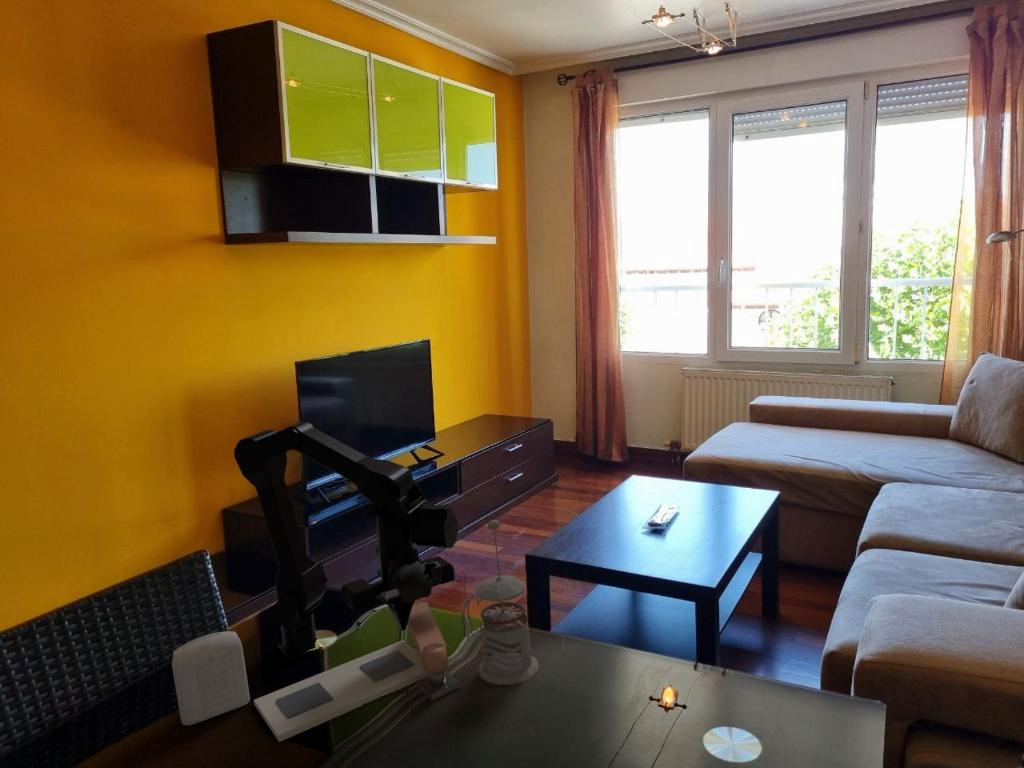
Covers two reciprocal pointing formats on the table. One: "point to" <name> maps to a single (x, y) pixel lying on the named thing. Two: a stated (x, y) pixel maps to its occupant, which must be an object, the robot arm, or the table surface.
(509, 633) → the french press
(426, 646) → the cable arm
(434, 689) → the dark plate
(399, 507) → the robot arm
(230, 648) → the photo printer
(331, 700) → the panel
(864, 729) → the table surface
